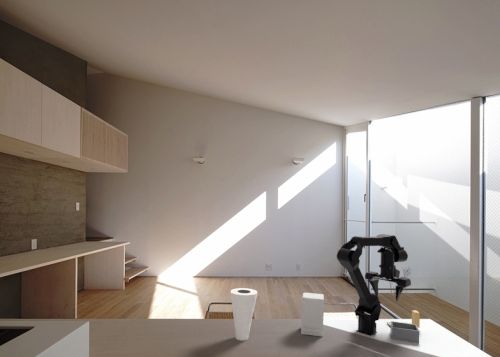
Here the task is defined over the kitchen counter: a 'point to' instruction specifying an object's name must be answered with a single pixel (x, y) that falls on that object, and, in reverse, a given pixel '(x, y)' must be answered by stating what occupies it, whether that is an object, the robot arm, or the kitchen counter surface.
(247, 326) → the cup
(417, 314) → the lid
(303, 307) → the supplement box
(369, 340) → the kitchen counter surface
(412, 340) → the tub
